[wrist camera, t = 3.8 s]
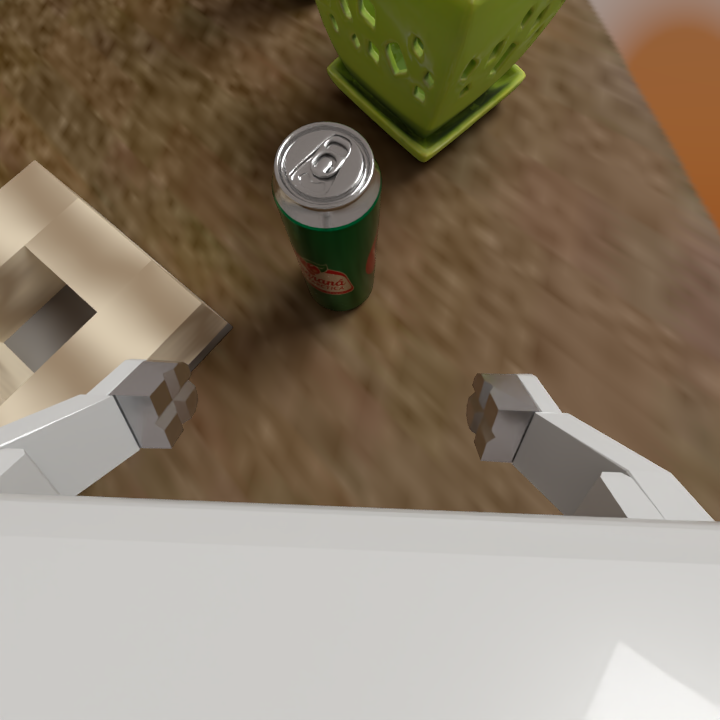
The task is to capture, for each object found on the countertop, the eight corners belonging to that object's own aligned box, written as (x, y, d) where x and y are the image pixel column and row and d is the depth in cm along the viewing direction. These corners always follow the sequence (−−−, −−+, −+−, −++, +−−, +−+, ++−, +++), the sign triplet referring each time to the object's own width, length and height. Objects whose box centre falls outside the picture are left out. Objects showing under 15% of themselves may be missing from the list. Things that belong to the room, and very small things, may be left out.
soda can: (296, 291, 26) (240, 177, 14) (332, 242, 26) (309, 95, 15) (349, 326, 25) (339, 237, 13) (385, 274, 26) (406, 148, 14)
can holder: (71, 498, 23) (-9, 518, 18) (-68, 353, 25) (-175, 335, 20) (233, 327, 25) (202, 303, 20) (93, 208, 27) (34, 160, 22)
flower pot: (421, 195, 27) (471, 1, 15) (310, 96, 29) (272, -149, 17) (532, 100, 29) (660, -145, 17) (420, 12, 31) (459, -264, 19)
